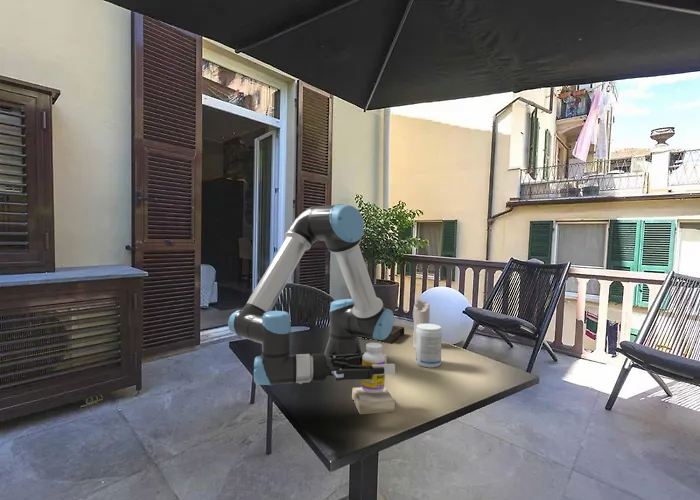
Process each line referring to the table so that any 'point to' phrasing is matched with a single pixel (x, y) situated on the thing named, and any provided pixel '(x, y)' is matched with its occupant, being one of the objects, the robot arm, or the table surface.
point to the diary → (391, 335)
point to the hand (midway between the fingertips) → (390, 363)
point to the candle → (420, 316)
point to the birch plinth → (373, 401)
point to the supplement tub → (428, 345)
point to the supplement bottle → (370, 359)
